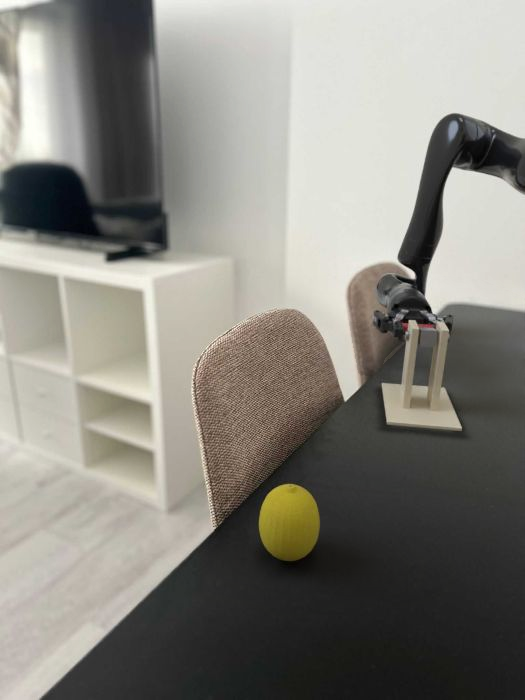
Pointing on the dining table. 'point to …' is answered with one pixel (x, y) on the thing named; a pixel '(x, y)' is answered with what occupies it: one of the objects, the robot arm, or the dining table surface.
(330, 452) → the dining table surface
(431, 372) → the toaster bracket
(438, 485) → the dining table surface
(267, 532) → the lemon
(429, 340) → the lever
